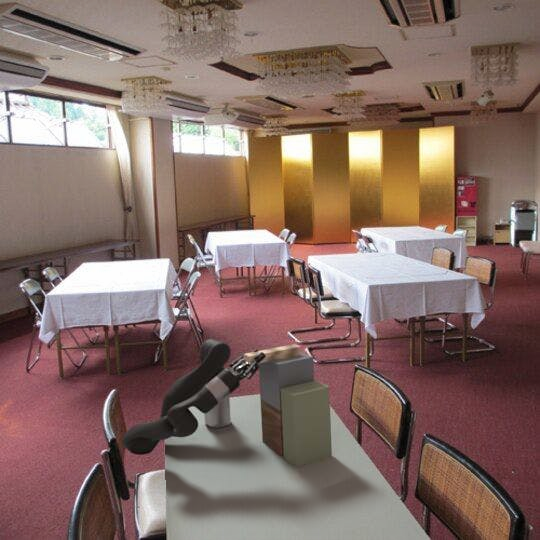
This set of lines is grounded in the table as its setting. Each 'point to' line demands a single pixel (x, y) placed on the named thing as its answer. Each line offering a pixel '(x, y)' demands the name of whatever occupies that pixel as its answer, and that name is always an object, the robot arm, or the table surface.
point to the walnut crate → (272, 427)
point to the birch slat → (275, 353)
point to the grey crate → (284, 376)
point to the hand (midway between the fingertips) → (260, 352)
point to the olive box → (306, 422)
